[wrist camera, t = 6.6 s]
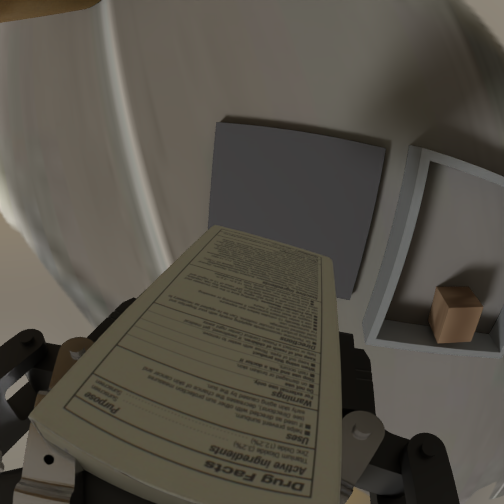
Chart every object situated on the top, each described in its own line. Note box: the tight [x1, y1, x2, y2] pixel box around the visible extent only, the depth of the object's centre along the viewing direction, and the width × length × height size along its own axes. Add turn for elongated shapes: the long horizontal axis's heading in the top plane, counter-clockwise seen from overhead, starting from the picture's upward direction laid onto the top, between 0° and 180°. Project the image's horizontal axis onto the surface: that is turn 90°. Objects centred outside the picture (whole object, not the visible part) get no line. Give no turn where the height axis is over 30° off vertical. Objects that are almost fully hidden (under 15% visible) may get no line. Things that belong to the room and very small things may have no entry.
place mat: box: [208, 122, 386, 300], centre depth 26 cm, size 14×14×1 cm
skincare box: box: [28, 225, 342, 504], centre depth 10 cm, size 6×4×12 cm
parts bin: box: [362, 145, 504, 358], centre depth 22 cm, size 18×18×4 cm
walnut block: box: [428, 287, 483, 343], centre depth 24 cm, size 4×4×4 cm
